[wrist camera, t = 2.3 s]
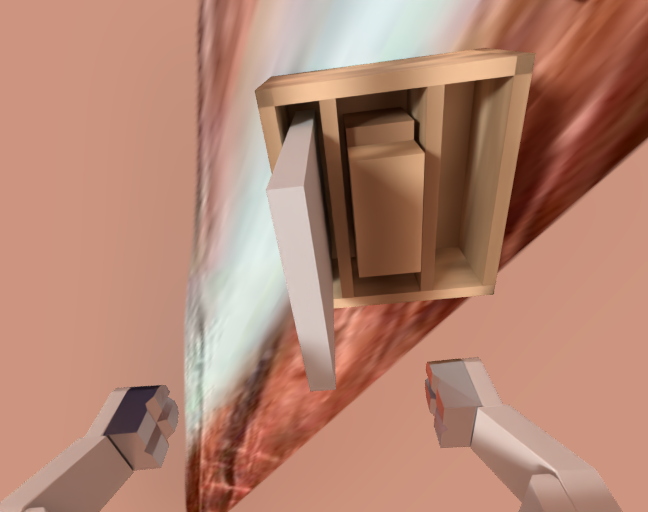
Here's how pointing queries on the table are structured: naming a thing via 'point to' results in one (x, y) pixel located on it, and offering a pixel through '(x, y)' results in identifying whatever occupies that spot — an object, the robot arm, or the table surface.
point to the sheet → (306, 246)
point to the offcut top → (387, 206)
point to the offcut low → (376, 132)
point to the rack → (439, 165)
